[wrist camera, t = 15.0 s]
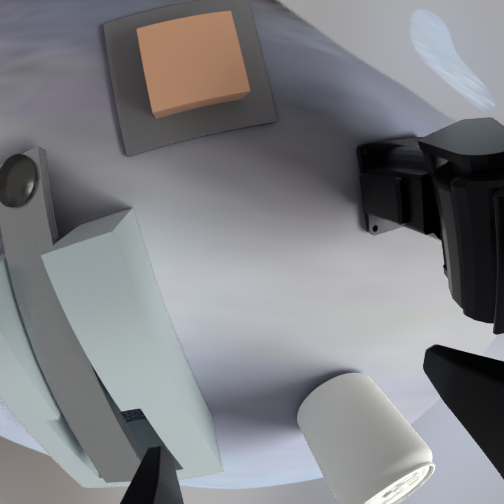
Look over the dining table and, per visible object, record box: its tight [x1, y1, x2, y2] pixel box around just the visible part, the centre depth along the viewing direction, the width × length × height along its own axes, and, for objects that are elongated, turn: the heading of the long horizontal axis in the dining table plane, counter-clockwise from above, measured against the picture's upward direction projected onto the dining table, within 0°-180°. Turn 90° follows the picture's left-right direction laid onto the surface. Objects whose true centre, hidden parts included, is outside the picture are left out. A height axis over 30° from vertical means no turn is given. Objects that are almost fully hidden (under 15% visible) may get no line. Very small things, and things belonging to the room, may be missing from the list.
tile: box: [137, 11, 250, 119], centre depth 14 cm, size 5×5×2 cm
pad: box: [103, 0, 277, 157], centre depth 15 cm, size 9×9×1 cm
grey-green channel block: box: [0, 208, 224, 488], centre depth 17 cm, size 18×12×6 cm, turn 12°
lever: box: [0, 146, 144, 483], centre depth 14 cm, size 21×4×1 cm, turn 12°
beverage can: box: [297, 373, 435, 504], centre depth 21 cm, size 8×8×12 cm
